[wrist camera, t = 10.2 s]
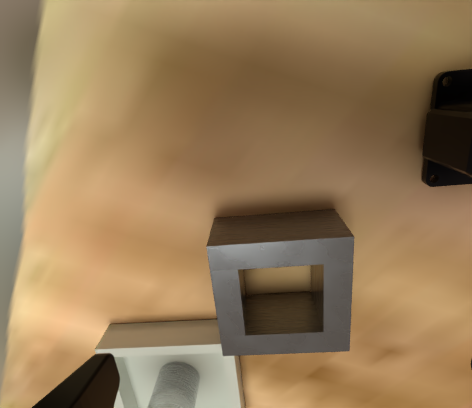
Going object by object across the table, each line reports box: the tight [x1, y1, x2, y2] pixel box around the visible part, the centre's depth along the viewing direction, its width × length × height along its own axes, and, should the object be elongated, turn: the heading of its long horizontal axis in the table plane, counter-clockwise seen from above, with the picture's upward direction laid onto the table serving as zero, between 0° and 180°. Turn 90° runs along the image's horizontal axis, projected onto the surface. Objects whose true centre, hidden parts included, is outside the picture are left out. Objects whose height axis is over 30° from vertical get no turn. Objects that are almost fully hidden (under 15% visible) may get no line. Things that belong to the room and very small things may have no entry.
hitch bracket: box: [206, 209, 354, 356], centre depth 20 cm, size 8×8×4 cm
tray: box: [95, 319, 245, 408], centre depth 24 cm, size 10×10×2 cm
